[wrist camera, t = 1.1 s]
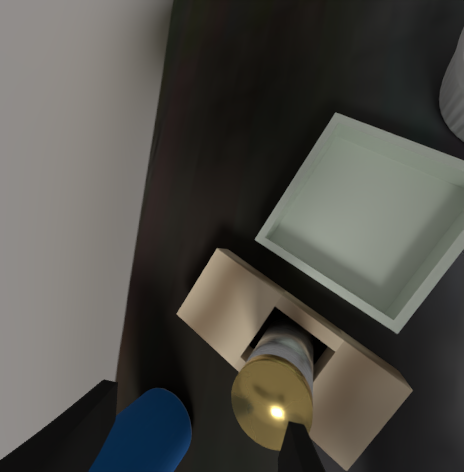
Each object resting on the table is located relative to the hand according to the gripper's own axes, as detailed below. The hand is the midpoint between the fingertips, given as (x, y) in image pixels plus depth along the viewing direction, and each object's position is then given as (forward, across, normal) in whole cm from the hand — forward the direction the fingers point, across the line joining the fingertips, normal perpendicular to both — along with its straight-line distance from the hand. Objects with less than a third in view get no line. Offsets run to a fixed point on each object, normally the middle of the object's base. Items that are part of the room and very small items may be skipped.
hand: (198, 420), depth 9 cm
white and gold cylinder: (+10, -6, +3) cm, 12 cm away
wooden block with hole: (+10, -5, +2) cm, 11 cm away
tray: (+11, -9, -8) cm, 17 cm away
